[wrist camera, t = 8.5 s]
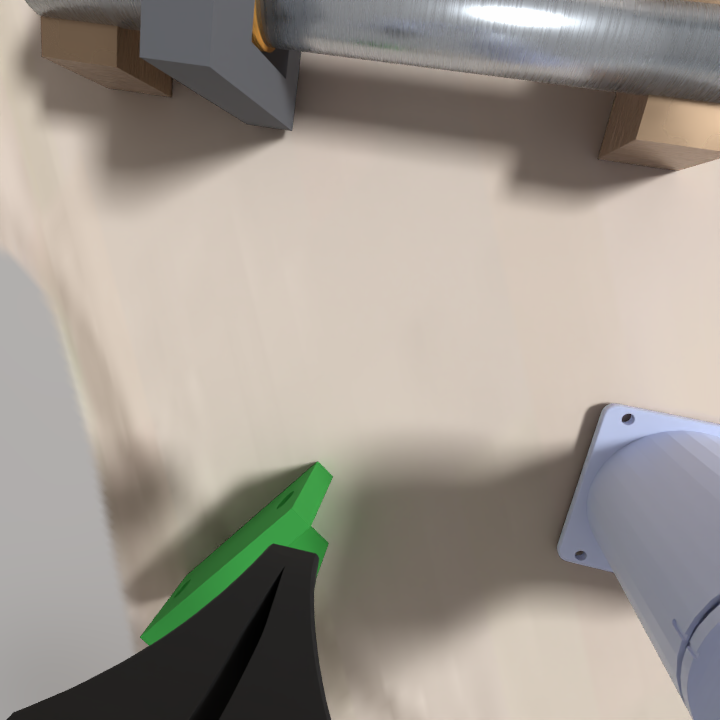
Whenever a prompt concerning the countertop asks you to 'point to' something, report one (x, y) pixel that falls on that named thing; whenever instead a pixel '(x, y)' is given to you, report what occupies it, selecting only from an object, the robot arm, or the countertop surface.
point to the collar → (221, 58)
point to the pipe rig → (467, 53)
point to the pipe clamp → (249, 549)
